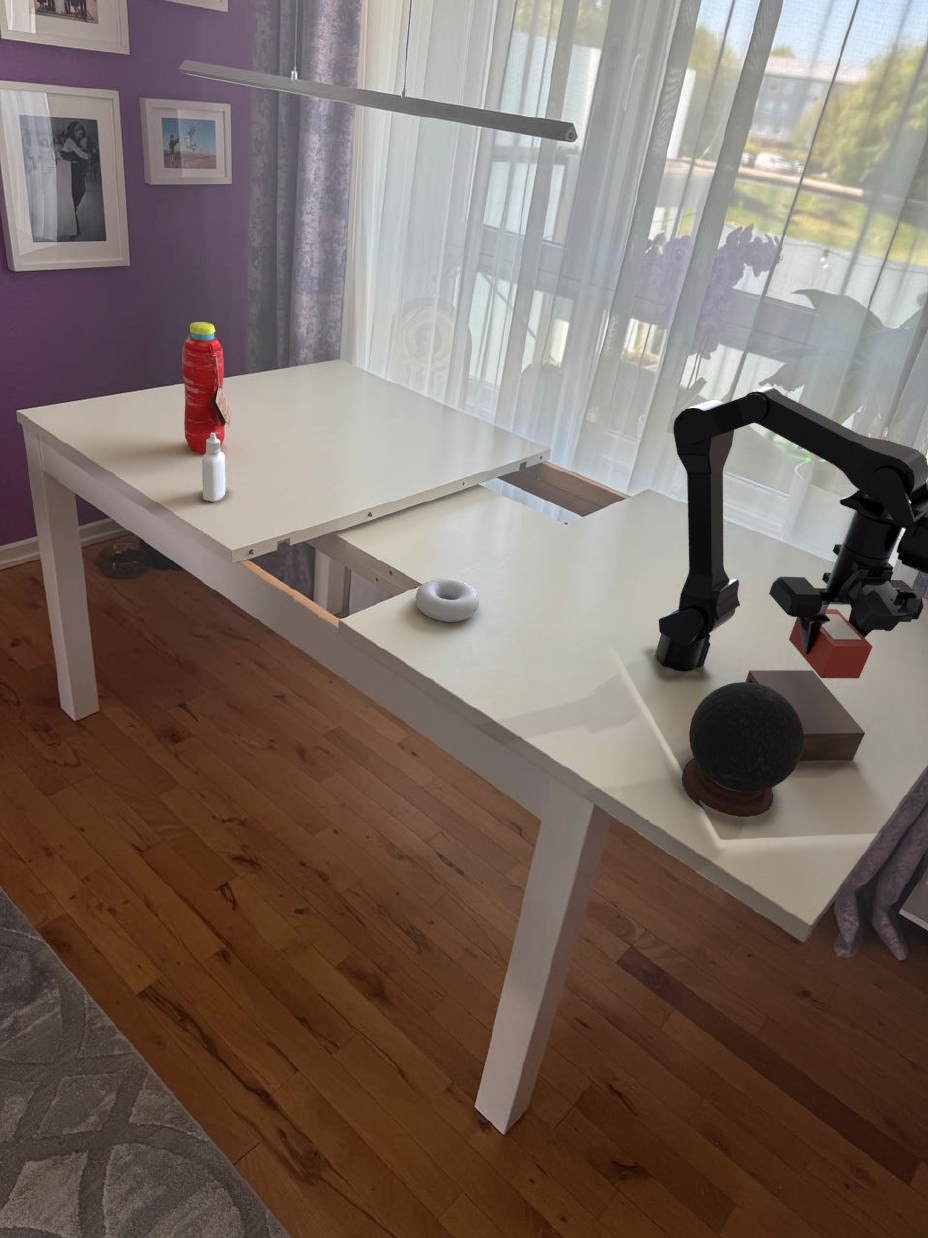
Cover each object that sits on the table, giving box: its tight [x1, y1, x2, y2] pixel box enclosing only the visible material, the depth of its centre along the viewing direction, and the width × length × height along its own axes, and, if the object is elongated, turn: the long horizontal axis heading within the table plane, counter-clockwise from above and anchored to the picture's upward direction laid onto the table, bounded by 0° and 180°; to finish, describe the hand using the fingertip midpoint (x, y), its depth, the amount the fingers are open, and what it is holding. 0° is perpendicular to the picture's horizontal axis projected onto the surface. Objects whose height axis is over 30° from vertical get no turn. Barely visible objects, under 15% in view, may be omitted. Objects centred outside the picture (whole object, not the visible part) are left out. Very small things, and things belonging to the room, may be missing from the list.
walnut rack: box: [744, 669, 866, 762], centre depth 124 cm, size 10×14×5 cm
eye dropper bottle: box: [201, 433, 226, 502], centre depth 162 cm, size 4×6×12 cm
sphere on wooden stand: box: [681, 681, 804, 818], centre depth 110 cm, size 13×13×15 cm
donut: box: [414, 577, 480, 623], centre depth 141 cm, size 10×3×10 cm
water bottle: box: [181, 321, 233, 455], centre depth 176 cm, size 12×8×25 cm, turn 46°
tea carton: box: [788, 608, 874, 679], centre depth 119 cm, size 6×9×5 cm, turn 10°
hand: (824, 652), depth 120 cm, fingers closed on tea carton, 5 cm apart
